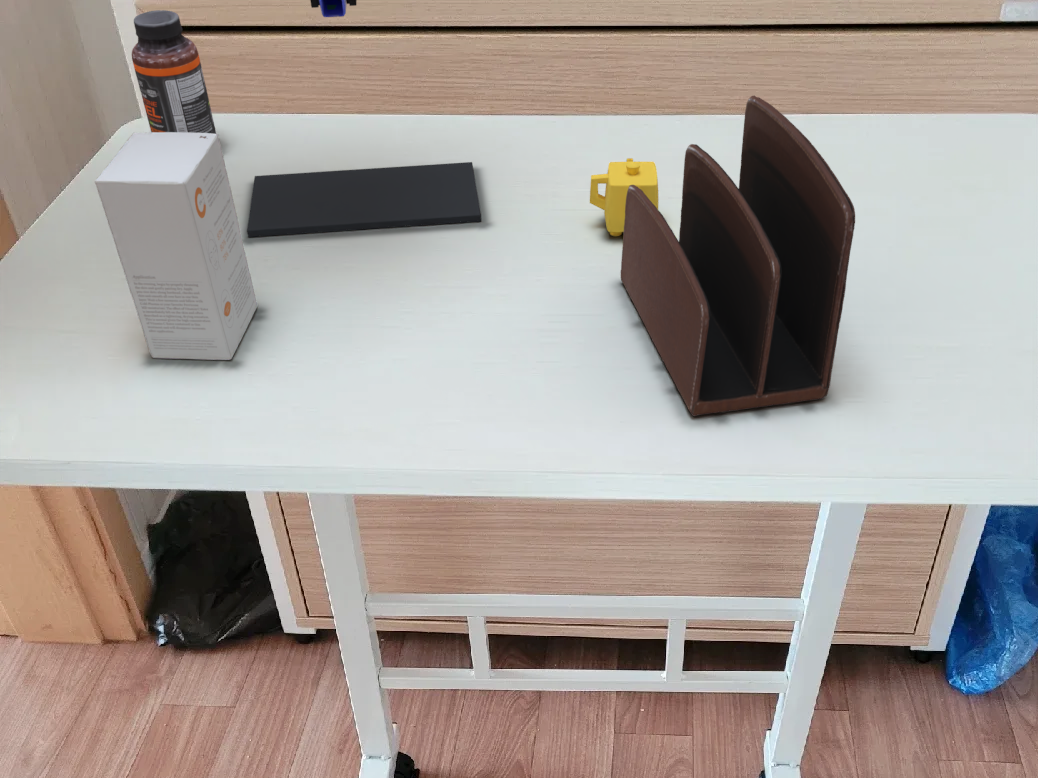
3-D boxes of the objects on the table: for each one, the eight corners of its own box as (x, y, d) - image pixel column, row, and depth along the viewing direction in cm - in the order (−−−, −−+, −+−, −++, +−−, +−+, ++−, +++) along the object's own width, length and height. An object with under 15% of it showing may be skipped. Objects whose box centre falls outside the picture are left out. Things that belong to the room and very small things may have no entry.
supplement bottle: (145, 149, 107) (109, 16, 99) (199, 131, 110) (168, 0, 101) (176, 167, 104) (141, 32, 96) (230, 149, 107) (201, 16, 98)
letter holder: (738, 267, 90) (761, 76, 79) (828, 401, 77) (870, 195, 66) (618, 281, 89) (626, 89, 78) (690, 420, 76) (710, 213, 65)
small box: (181, 304, 87) (132, 129, 78) (259, 306, 87) (220, 131, 77) (148, 359, 82) (91, 179, 72) (232, 362, 82) (186, 181, 72)
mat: (248, 237, 95) (246, 230, 94) (255, 182, 102) (254, 175, 102) (481, 221, 96) (480, 214, 95) (472, 168, 103) (472, 161, 103)
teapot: (588, 204, 98) (589, 143, 94) (654, 204, 98) (658, 142, 94) (589, 247, 92) (590, 184, 89) (658, 247, 92) (662, 183, 88)
